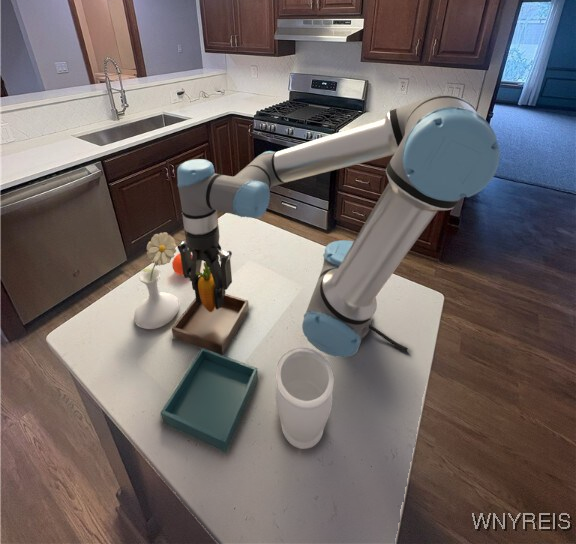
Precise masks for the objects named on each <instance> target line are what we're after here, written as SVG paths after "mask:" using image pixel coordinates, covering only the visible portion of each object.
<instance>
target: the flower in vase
mask: <svg viewBox="0 0 576 544" xmlns="http://www.w3.org/2000/svg"><path fill="white" fill-rule="evenodd" d="M176 248H177V244H176V240H175V238H174V237H173V236H172V235H171V234H169V233H168V232H165V231H164V232H160V233H155V234H153V236H152V237H151V239H150V241H148V242H147V245H146V255H147V260H148V261H149V262H150V263H151V264H153V266H152V268H144V269H142V270H140V272H142V273H141V274H140V275H139V279H138V280H139V281H140V282H141V283H143V284H144V285H145V286H146V288H147V292H148V296H147V297H145V298H144V299H143V300H142V301H140V303H139V304H138V305H137V307H136V309H135V310H134V311H135V312H134V314H133V320H134V322H135V324H136V326H138V327H139V328H142V329H145V330H156V329H159V328H162V327H164V326H166V325H168V324H169V323H170V322H171V321H173V320H174V318H175V317H176V316H177V314H178V312H179V310H180V301H179V299H178V298H177V297H176V296H175V294H173V293H171V292H165V291H160V292H159V288H158V280H159V279H160V277H161V271H160V269H158V268H155V267H157V266H164V265H167V264H169V263H171V260H172V259H174V258H175V254H176V253H177V250H176Z"/></svg>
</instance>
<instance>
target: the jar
mask: <svg viewBox="0 0 576 544" xmlns="http://www.w3.org/2000/svg"><path fill="white" fill-rule="evenodd" d="M275 382H276V387H275V404H276V409H277V413H278V417H279V420H280V427H281V431H282V433H283V436H284V438H285V439H286V440H287V442H288V443H289V444H290V445H291V446H293V447H294V448H296V449H299V450H307V449H311V448H313V447H314V446H316V445H317V444H318V443H319V442H320V441H321V439H322V436H323V433H324V429H325V427H326V424H327V421H328V419H329V417H330V414H331V411H332V406H333V404H332V403H333V389H334V384H335V383H334V382H335V378H334V371H333V369H332V366H331V364H330V362H329V361H328V360H327V359H326V357H325V356H324V355H323V354H321V352H319V351H317V350H315V349H313V348H309V347H296V348H292V349H290V350H288V351H287V352H285V353H284V354H283V355H282V356H281V357H280V359H279V360H278V362H277V365H276V368H275Z"/></svg>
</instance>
